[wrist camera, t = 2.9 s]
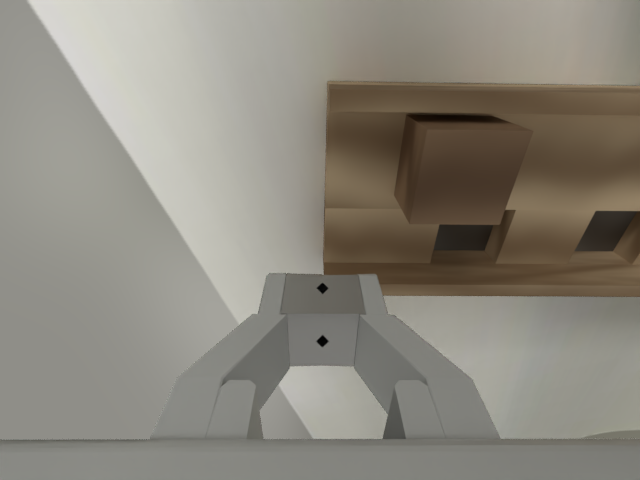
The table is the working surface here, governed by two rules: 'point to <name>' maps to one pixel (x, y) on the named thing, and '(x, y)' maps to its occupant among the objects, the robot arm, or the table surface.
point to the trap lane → (523, 205)
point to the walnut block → (458, 168)
